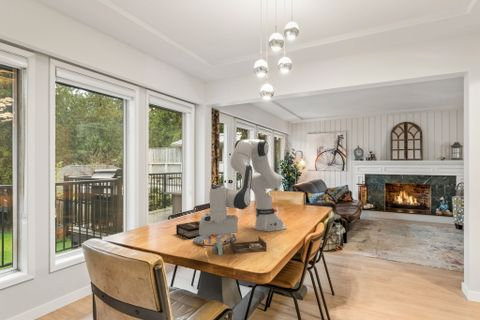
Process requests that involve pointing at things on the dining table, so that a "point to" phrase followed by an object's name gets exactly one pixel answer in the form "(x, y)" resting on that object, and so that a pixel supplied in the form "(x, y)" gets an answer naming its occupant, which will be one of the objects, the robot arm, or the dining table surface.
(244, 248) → the rack
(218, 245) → the board
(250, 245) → the offcut upper
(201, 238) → the food plate
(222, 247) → the stand
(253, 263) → the dining table surface
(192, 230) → the decorative book
